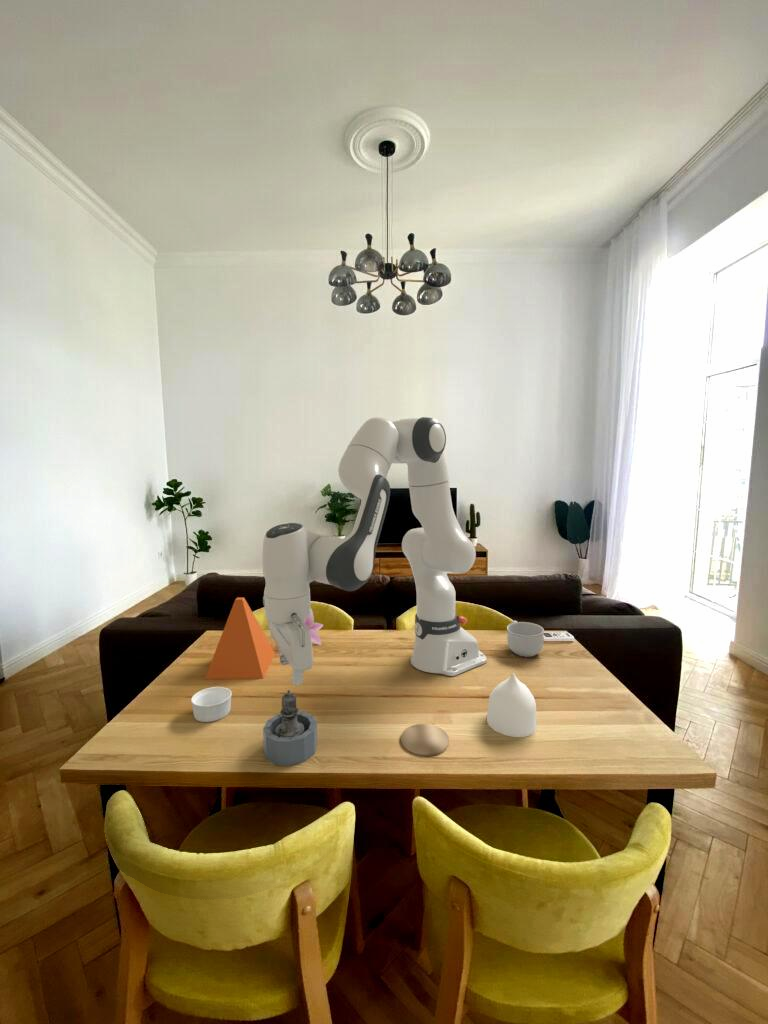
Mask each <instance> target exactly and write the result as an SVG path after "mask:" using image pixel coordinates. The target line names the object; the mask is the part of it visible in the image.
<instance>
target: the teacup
mask: <svg viewBox="0 0 768 1024" xmlns="http://www.w3.org/2000/svg"><path fill="white" fill-rule="evenodd" d="M544 632H545V629H544V628H543V627H542V626H541V625H539V624H536V623H534V622H529V621H528V622H526V621H519V622H518V621H517V620H511V622H510V623H509V624H508V625H507V626H506V636H507V638H506V639H507V646H508V648H509V649H510V651H512V652H513V653H514V654H515V655H518V656H520V657H523V656H524V658H525V657H526V658H529V657H530V658H531V657H535V656H536V655H537V654H539V653H541V651H542V650H543V647H544Z"/></svg>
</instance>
